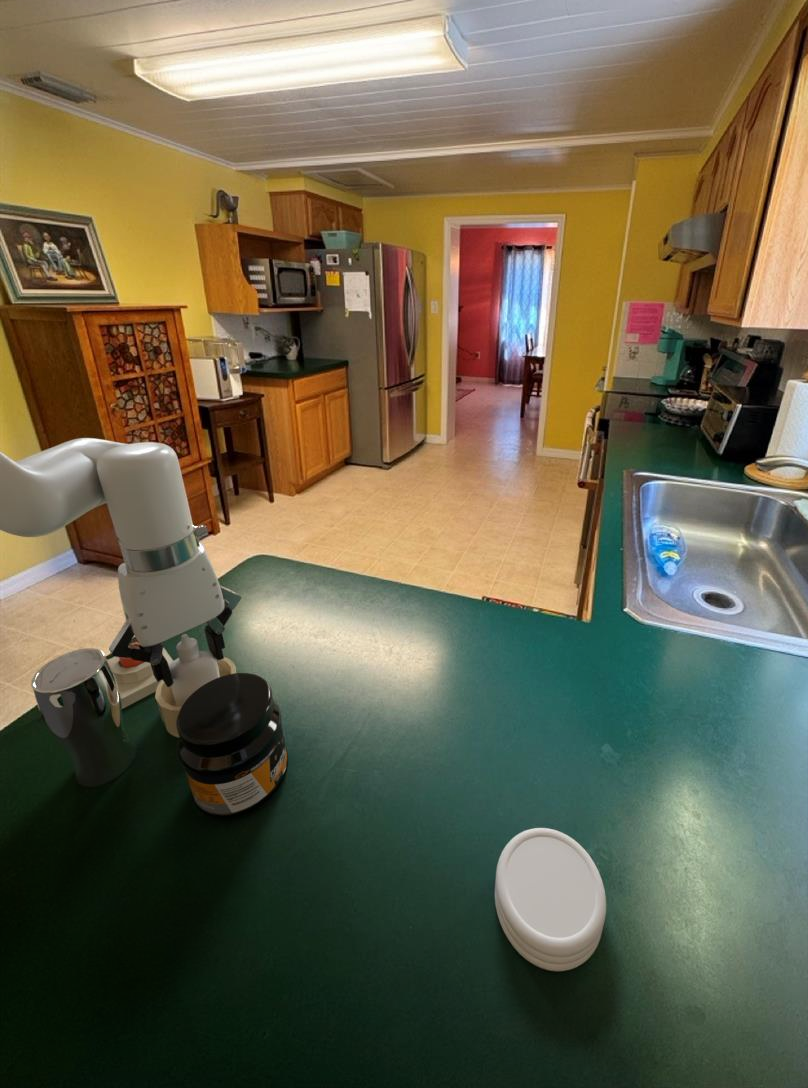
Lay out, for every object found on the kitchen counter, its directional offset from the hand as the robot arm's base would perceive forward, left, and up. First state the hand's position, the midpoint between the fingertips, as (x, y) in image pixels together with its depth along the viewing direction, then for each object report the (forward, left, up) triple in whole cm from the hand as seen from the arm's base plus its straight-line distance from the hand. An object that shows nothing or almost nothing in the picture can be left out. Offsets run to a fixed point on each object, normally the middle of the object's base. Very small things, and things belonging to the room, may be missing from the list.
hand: (192, 666), depth 62 cm
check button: (-13, -4, -4) cm, 14 cm away
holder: (0, 0, -8) cm, 8 cm away
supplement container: (+14, -1, -8) cm, 16 cm away
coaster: (+47, +13, -8) cm, 49 cm away
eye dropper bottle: (0, 0, -7) cm, 7 cm away
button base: (-13, -4, -8) cm, 15 cm away
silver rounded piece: (0, -11, -8) cm, 14 cm away
